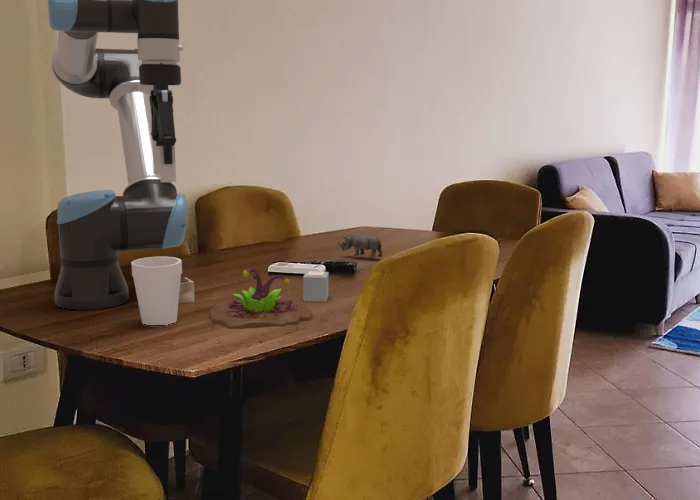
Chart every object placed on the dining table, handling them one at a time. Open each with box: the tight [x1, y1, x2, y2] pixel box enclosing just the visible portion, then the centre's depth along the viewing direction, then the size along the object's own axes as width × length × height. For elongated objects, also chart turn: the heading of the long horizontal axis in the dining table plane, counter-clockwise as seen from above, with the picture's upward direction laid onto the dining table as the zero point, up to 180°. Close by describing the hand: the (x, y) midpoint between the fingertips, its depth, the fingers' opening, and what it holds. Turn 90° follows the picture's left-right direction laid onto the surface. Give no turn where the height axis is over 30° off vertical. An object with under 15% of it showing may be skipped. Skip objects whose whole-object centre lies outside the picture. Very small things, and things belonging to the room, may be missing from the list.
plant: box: [208, 268, 314, 330], centre depth 153 cm, size 20×20×11 cm
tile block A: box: [178, 276, 195, 305], centre depth 165 cm, size 5×5×5 cm
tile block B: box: [302, 270, 330, 303], centre depth 167 cm, size 5×5×6 cm
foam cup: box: [131, 256, 183, 326], centre depth 147 cm, size 10×9×13 cm
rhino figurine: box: [337, 233, 384, 259], centre depth 214 cm, size 4×14×6 cm, turn 61°
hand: (164, 178), depth 146 cm, fingers open, 13 cm apart
